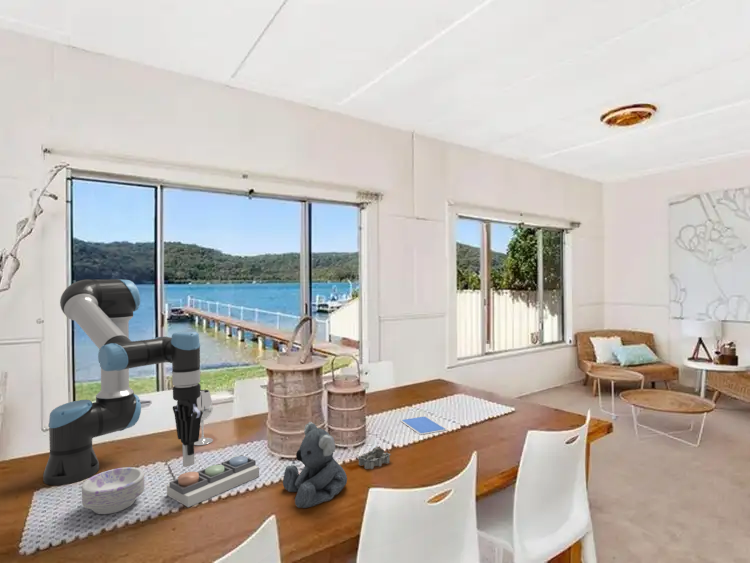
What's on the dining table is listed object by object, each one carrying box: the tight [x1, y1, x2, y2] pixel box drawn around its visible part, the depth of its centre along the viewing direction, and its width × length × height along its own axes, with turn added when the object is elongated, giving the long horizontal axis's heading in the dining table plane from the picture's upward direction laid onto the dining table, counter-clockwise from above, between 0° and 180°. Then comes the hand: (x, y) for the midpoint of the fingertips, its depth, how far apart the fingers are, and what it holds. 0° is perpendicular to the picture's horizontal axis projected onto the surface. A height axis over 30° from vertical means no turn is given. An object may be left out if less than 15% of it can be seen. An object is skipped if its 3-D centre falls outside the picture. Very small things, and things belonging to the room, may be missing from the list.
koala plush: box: [282, 421, 348, 509], centre depth 130 cm, size 17×18×20 cm
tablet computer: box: [400, 416, 447, 436], centre depth 187 cm, size 19×13×1 cm, turn 22°
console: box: [166, 454, 260, 508], centre depth 135 cm, size 25×12×4 cm, turn 142°
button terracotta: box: [177, 471, 199, 486], centre depth 128 cm, size 6×6×2 cm
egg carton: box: [357, 445, 392, 470], centre depth 149 cm, size 11×8×4 cm
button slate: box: [228, 455, 249, 467], centre depth 142 cm, size 6×6×2 cm
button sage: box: [204, 464, 224, 477], centre depth 135 cm, size 6×6×2 cm
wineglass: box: [194, 389, 214, 446], centre depth 173 cm, size 8×8×20 cm
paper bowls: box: [81, 466, 146, 515], centre depth 124 cm, size 15×15×8 cm
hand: (188, 464), depth 128 cm, fingers closed
